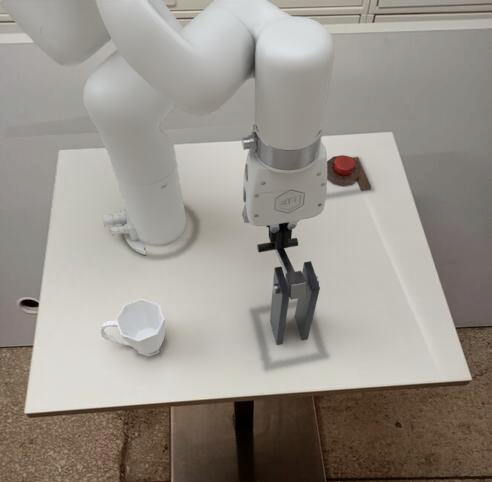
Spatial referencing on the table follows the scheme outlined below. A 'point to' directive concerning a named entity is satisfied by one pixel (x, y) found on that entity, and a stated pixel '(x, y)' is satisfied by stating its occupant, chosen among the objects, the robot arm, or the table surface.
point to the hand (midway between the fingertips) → (279, 241)
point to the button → (344, 165)
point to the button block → (357, 176)
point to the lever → (288, 269)
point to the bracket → (304, 304)
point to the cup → (139, 326)
